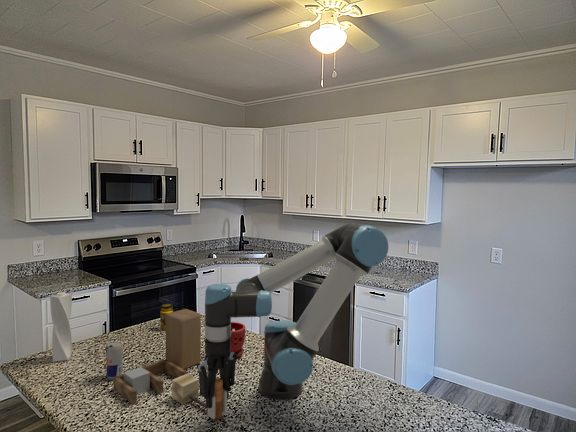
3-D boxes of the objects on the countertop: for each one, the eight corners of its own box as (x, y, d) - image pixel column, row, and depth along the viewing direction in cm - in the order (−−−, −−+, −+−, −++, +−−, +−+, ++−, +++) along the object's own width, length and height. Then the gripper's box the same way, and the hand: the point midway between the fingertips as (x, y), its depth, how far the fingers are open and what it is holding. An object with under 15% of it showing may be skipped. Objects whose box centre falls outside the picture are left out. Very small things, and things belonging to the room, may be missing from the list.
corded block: (227, 414, 117) (228, 379, 116) (212, 423, 112) (212, 386, 112) (187, 390, 130) (187, 359, 129) (171, 397, 125) (171, 365, 124)
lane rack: (187, 382, 135) (187, 371, 135) (133, 404, 121) (132, 392, 121) (166, 369, 145) (166, 359, 145) (113, 388, 130) (113, 377, 130)
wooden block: (186, 355, 157) (186, 307, 156) (201, 363, 151) (201, 313, 150) (164, 364, 150) (164, 313, 148) (179, 372, 143) (179, 319, 142)
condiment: (161, 333, 181) (161, 308, 180) (156, 327, 188) (156, 303, 187) (177, 330, 186) (177, 305, 185) (171, 324, 192) (171, 301, 192)
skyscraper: (76, 353, 157) (75, 285, 156) (72, 361, 150) (70, 290, 148) (52, 355, 155) (51, 287, 153) (47, 364, 147) (45, 292, 145)
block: (149, 389, 130) (149, 372, 130) (132, 396, 126) (132, 378, 126) (141, 383, 134) (141, 366, 134) (124, 390, 130) (123, 372, 130)
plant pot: (250, 356, 158) (251, 327, 157) (221, 364, 150) (221, 334, 150) (236, 345, 169) (236, 318, 168) (208, 352, 161) (208, 324, 160)
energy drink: (104, 376, 138) (103, 344, 138) (118, 371, 142) (118, 340, 142) (110, 382, 135) (109, 348, 134) (125, 376, 139) (125, 344, 138)
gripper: (231, 327, 123) (231, 398, 124) (186, 341, 110) (186, 420, 112) (247, 333, 117) (246, 407, 119) (201, 349, 105) (201, 431, 107)
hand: (217, 413), depth 115 cm, fingers closed on corded block, 4 cm apart
